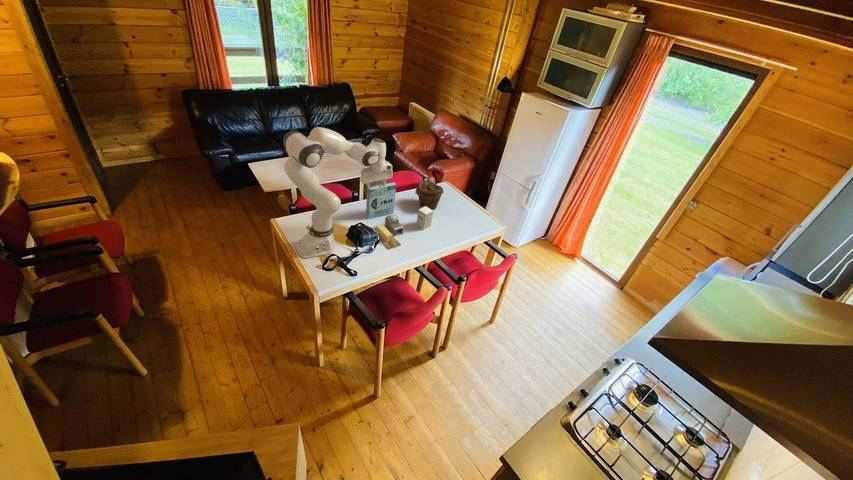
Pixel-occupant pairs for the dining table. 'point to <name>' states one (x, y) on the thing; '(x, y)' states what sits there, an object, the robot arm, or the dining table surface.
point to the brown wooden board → (389, 242)
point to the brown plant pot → (428, 194)
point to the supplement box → (424, 217)
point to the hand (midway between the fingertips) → (376, 186)
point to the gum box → (380, 200)
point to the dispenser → (393, 224)
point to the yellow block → (384, 233)
